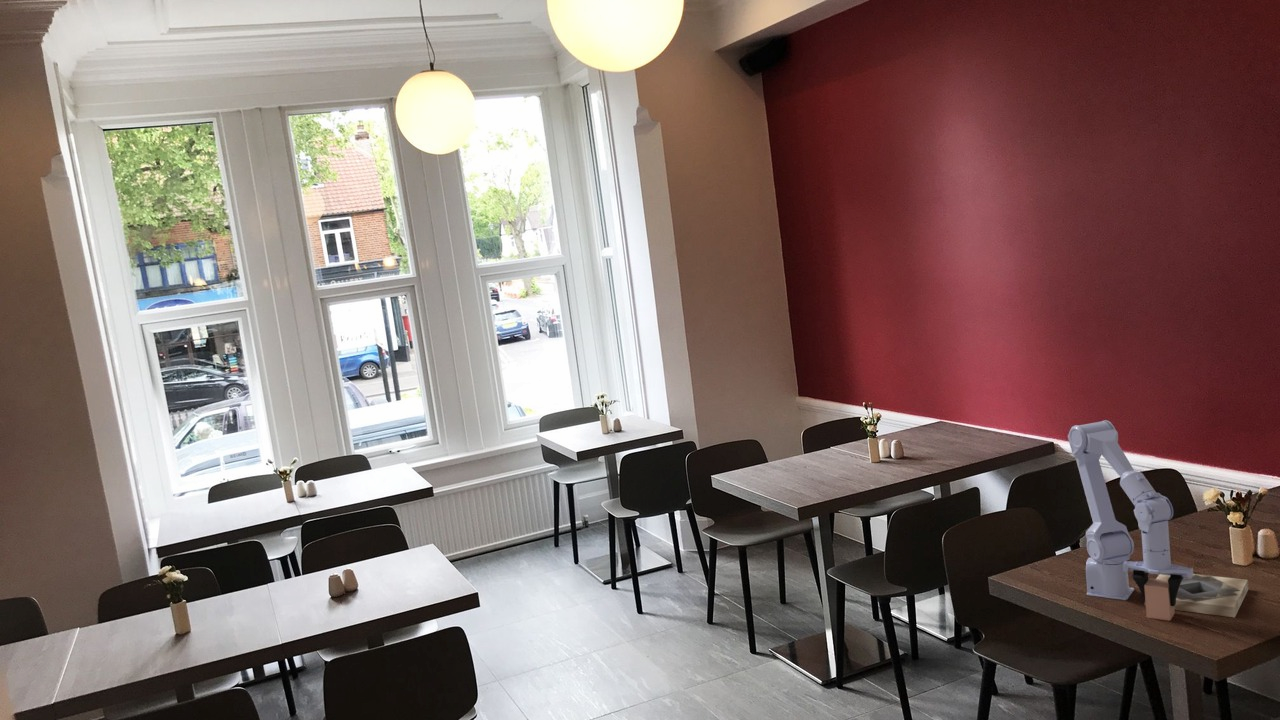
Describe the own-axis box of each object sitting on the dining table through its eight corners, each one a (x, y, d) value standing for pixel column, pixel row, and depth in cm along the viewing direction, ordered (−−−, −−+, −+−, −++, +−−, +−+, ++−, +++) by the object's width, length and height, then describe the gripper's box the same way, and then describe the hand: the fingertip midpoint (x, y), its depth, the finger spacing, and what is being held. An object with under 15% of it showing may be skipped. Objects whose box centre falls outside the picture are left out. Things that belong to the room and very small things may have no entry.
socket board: (1144, 605, 234) (1143, 596, 233) (1162, 579, 248) (1161, 570, 248) (1234, 617, 221) (1234, 607, 221) (1248, 589, 235) (1247, 579, 235)
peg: (1146, 617, 227) (1144, 585, 226) (1151, 610, 231) (1149, 578, 230) (1170, 620, 224) (1167, 587, 223) (1174, 613, 228) (1172, 580, 227)
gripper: (1118, 549, 227) (1122, 604, 229) (1187, 556, 218) (1190, 613, 219) (1125, 540, 233) (1129, 594, 234) (1193, 547, 223) (1197, 602, 225)
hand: (1159, 603), depth 227 cm, fingers closed on peg, 5 cm apart
